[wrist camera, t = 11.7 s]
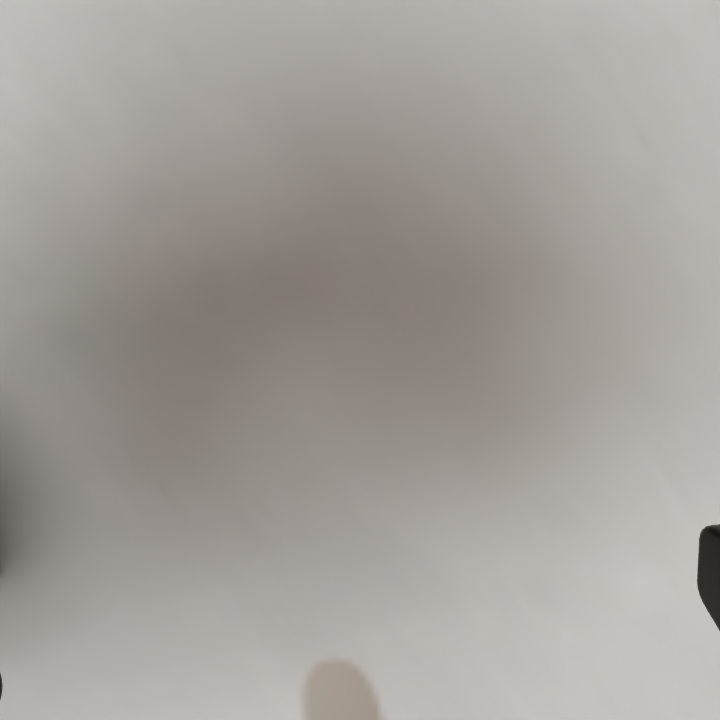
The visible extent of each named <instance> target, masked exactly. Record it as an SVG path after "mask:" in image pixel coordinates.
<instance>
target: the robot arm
mask: <svg viewBox="0 0 720 720" xmlns="http://www.w3.org/2000/svg"><path fill="white" fill-rule="evenodd" d="M697 585H698V590H699V594H700V597H701V599H702V601H703V603H704V605H705V607H706V609H707V610H708V612H709V614H710V615H711V617H712V619H713V620H714V622H715V624H716V625H717V627H718V629H719V631H720V524H718V525H711V526H707V527H705V528H704V529H703V530H702V531H701V534H700V538H699V555H698V575H697ZM1 695H2V678H1V674H0V699H1Z"/></svg>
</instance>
